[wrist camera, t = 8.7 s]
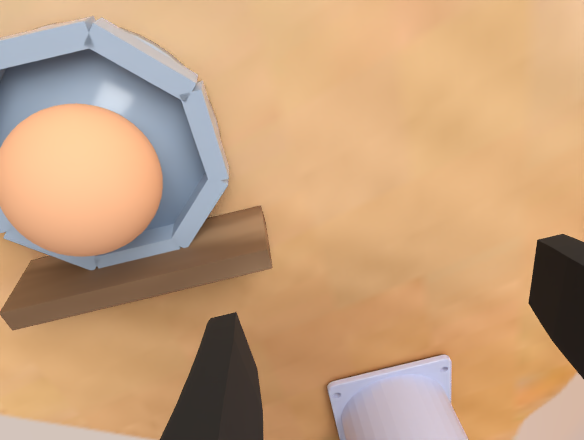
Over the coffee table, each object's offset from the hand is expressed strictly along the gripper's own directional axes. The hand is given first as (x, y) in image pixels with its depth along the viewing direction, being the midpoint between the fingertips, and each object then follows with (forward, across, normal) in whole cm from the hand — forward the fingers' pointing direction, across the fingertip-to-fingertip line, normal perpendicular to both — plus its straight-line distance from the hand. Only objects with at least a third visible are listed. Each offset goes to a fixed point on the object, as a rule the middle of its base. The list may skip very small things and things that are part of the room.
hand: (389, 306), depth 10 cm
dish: (+10, +8, -2) cm, 14 cm away
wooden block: (+10, +8, +3) cm, 14 cm away
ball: (+10, +8, -2) cm, 13 cm away
